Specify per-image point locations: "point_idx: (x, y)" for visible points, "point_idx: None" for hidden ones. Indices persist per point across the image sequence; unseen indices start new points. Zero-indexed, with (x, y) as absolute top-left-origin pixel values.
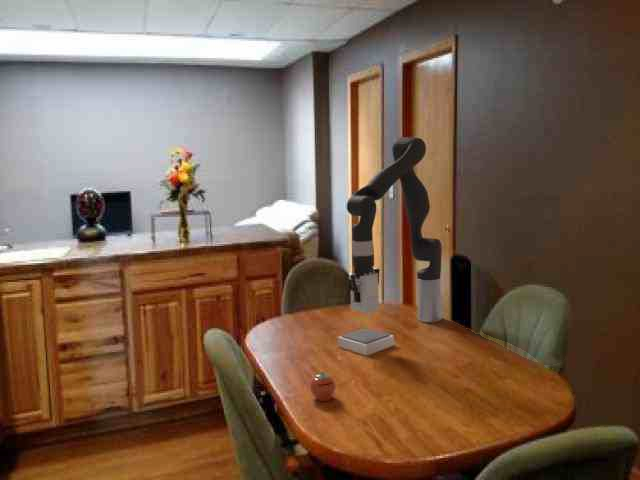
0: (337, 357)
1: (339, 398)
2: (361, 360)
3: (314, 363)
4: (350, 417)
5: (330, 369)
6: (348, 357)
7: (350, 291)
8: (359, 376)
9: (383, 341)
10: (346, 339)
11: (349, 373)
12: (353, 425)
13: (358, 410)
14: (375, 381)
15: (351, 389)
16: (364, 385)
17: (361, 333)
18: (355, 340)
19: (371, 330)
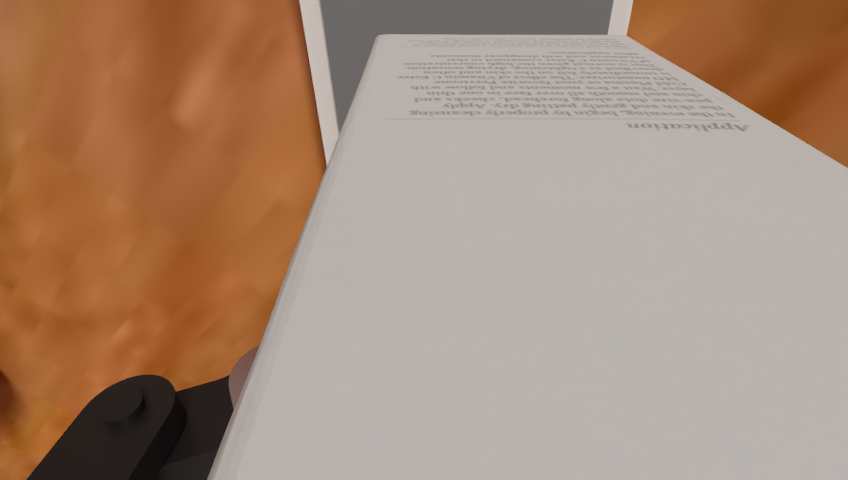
0: (186, 83)
1: (20, 383)
2: (279, 210)
3: (8, 59)
4: (16, 455)
5: (76, 191)
6: (245, 131)
7: (337, 142)
8: (169, 318)
9: None
10: (307, 18)
11: (144, 277)
12: (10, 475)
13: (52, 446)
14: (200, 373)
15: (87, 367)
16: (146, 372)
17: (474, 24)
18: (335, 104)
19: (591, 26)
